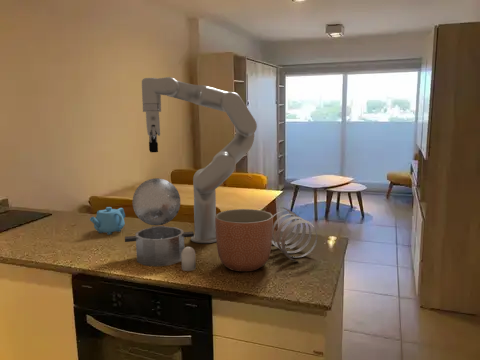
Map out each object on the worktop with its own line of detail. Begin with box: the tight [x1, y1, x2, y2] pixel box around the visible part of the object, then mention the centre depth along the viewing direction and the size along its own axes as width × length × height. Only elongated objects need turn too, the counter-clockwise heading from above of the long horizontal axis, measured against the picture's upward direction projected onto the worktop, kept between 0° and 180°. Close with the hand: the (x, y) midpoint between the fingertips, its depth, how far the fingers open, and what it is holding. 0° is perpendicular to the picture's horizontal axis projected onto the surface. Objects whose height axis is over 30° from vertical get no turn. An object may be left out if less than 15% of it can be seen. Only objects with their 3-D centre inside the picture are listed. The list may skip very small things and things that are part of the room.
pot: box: [124, 225, 195, 267], centre depth 165 cm, size 26×20×10 cm
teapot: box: [89, 206, 126, 236], centre depth 200 cm, size 20×17×12 cm
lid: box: [132, 177, 181, 226], centre depth 174 cm, size 19×19×3 cm
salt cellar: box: [181, 246, 196, 272], centre depth 153 cm, size 5×5×8 cm
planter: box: [215, 208, 274, 272], centre depth 154 cm, size 21×21×19 cm
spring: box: [269, 207, 318, 263], centre depth 172 cm, size 16×16×30 cm
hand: (153, 151), depth 179 cm, fingers open, 6 cm apart
